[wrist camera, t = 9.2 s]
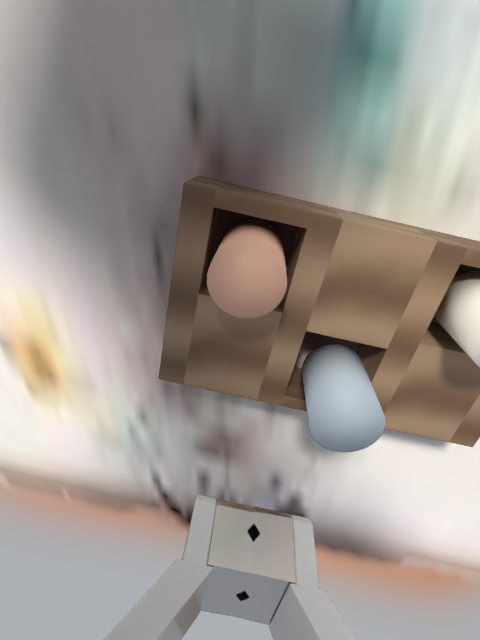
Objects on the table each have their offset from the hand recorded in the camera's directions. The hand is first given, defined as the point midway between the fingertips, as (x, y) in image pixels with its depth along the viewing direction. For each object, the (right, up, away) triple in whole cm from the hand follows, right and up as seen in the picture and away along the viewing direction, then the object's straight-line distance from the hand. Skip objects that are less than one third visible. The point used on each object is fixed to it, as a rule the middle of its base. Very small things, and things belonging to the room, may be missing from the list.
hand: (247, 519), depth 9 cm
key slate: (+7, +1, +18) cm, 20 cm away
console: (+8, +6, +20) cm, 23 cm away
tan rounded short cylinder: (+1, +10, +17) cm, 19 cm away
